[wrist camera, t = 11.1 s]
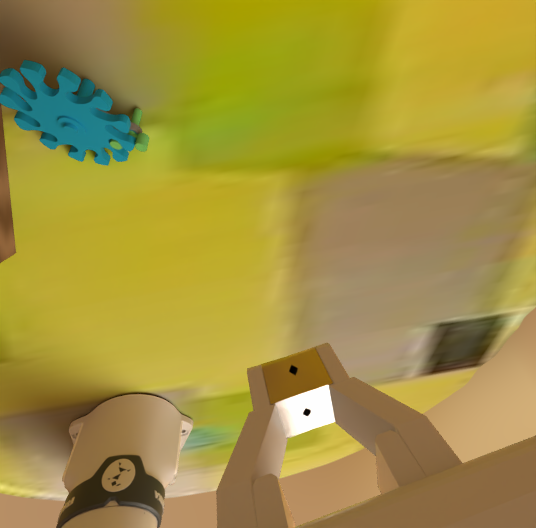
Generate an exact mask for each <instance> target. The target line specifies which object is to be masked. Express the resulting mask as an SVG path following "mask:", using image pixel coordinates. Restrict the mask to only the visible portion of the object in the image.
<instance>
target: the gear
mask: <svg viewBox="0 0 536 528" xmlns="http://www.w3.org/2000/svg"><path fill="white" fill-rule="evenodd" d="M20 71H21V73H22V74H23V75H24V77H26V78H27V79H28V80H29V82H30V83H31V84H32V85H33V87H34V89H35V91H36V92H34V91H32V90H30V89H29V88H28V87H27V86H26V85H25V83H24V79H23V77H22V76H21V74H20V73H19V72H17V71H16V70H15V69H13V68H8V69H5V70H3V71H2V72H1V74H0V82H1V83H2V84H3V85H4V86H6V87H4V89H3V90H2V92H1V94H0V103H1V104H2V105H4V106H6V107H8V108H12V109H15V110H18V111H17V113H16V115H15V117H14V120H15V122H16V123H17V125H18V126H19V127H20V128H21V129H24V130H39V131H43V133H42V136H41V138H40V141H41V142H42V143H43V144H44V145H45V146H47V147H48V148H50V149H56V147H57V146H58V145H62V144H69V145H73V146H72V147H71V148H70V151H69V153H68V155H69V156H70V157H72V158H74V159H76V160H78V161H83V160H84V157H85V154H86V152H85V151H86V150H88V149H89V150H93V151H95V152H96V155H95V158H94V161H95V162H96V163H98V164H101V165H108V164H109V161H110V156H109V155H108V154H107V153H106V152H105V150H104V148H108V149H110V150H111V151H112V152H113V158H114V159H115V160H116V161H118V162H122V161H126V160H127V158H128V155H129V153H128V151H132V150H133V148H134V146H135V147H136V149H137V150H139V151H143V152H144V151H146V150H147V146H148V142H149V137H148V136H147V135H146V134H144V133H142V129H141V128H140V127H139V123H140V119H141V116H142V111H141V110H140V109H138V108H136V109H134V113H133V116H132V120H131V122H130V119H129V117H128V116H127V115H124V114H118V115H113V114H110V113H108V112H105V111H109V110H110V109H111V107H112V104H113V101H112V99H111V98H110V97H109V95H108V94H107V93H106V92H105V91H104V90H102V89H98V90H96V91H95V93H94V94H93V91H94V89H95V85H94V83H93V82H92V81H91V80H89V79H83V81H82V83H81V79H80V78H79V77H78V76H77V75H76V74H74V73H73V72H71V71H69V70H68V69H66V68H64V67H63V68H61V70H60V72H59V74H58V76H57V81H58V83H59V88H58V89H52V88H50V87H48V86H47V85H46V84H45V83H44V82H43V80H44V77H45V75H46V70H45V68H44V67H43V66H42V65H41V64H39V63H36V62H33V61H28V60H24V61H23V63H22V65H21V67H20ZM80 83H81V86H80V88H79V85H80ZM78 88H79V91H78V93H77V95H74V94H73V93H72V92H76V91H77V90H78ZM92 94H93V95H92ZM19 95H20V96H21V97H22V98H23V99H24V100H25V101H26V102H25V101H24V100H23V99H22V98H21V97H20V96H19ZM135 142H136V143H135Z"/></svg>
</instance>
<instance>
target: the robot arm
mask: <svg viewBox="0 0 536 528" xmlns="http://www.w3.org/2000/svg"><path fill="white" fill-rule="evenodd" d="M247 375H248V381H249V387H250V393H251V398H252V404H253V410H254V411H252V412H249V415H248V417H247V419H246V422H245V424H244V426H243V429H242V431H241V434H240V436H239V438H238V441H237V443H236V446H235V448H234V450H233V453H232V455H231V457H230V460H229V462H228V465H227V467H226V469H225V472H224V474H223V477H222V479H221V481H220V484H219V486H218V488H217V491H216V492H217V493H216V494H217V528H536V436H534V437H531V438H528V439H526V440H523V441H520V442H518V443H515V444H512V445H510V446H507V447H505V448H502V449H499V450H497V451H494V452H491V453H489V454H486V455H484V456H481V457H478V458H476V459H473V460H470V461H468V462H465V463H462V462H461V461H460V460H459V458H458V457H457V456H456V454H455V453H454V452H453V450H452V449H451V448H450V446H449V445H448V444H447V443H446V441H445V440H444V439H443V438H442V436H441V435H440V434H439V432H438V431H437V430H436V428H435V427H434V426H433V425H432V423H431V422H430V421H429V420H428V418H427V417H426V416H425V415H423V414H421V413H419V412H417V411H416V410H414V409H412V408H410V407H408V406H406V405H405V404H403V403H401V402H399V401H397V400H395V399H394V398H392V397H390V396H388V395H386V394H384V393H382V392H381V391H379V390H377V389H375V388H373V387H371V386H370V385H368V384H366V383H364V382H362V381H360V380H359V379H357V378H355V377H352V378H349V376H348V374H347V373H346V371H345V369H344V368H343V366H342V364H341V363H340V361H339V359H338V357H337V356H336V354H335V352H334V351H333V349H332V347H331V346H330V344H329V343H325V344H322V345H319V346H316V347H313V348H310V349H307V350H304V351H301V352H298V353H295V354H292V355H289V356H287V357H284V358H280V359H277V360H274V361H270V362H267V363H264V364H261V365H258V366H254V367H251V368H248V369H247ZM333 422H336V424H338V425H339V426H340V427H341V428H342V429H344V430H345V431H346V432H347V433H348V434H350V435H351V436H352V437H353V438H355V439H356V440H357V441H358V442H359V443H361V444H362V445H363V446H364V447H365V448H367V449H368V450H369V451H370V452H372V453H373V454H374V455H375V456H376V464H377V479H378V480H377V481H378V488H379V489H380V492H381V495H378V496H376V497H373V498H370V499H368V500H365V501H363V502H360V503H357V504H355V505H352V506H349V507H347V508H344V509H341V510H339V511H336V512H333V513H331V514H328V515H326V516H323V517H321V518H318V519H315V520H312V521H310V522H307V523H305V524H302V525H300V526H297V527H295V523H294V518H293V516H292V513H291V511H290V508H289V506H288V503H287V501H286V498H285V496H284V493H283V490H282V488H281V485H280V483H279V476H280V472H281V467H282V463H283V458H284V454H285V449H286V444H287V438H290V437H292V436H295V435H298V434H300V433H303V432H305V431H308V430H311V429H314V428H317V427H320V426H323V425H326V424H329V423H333ZM192 427H193V420H192V419H190V418H188V417H186V416H184V415H182V414H181V413H179V411H178V410H177V409H176V408H175V407H174V406H173V405H172V404H171V403H169V402H168V401H166V400H164V399H162V398H159V397H156V396H151V395H145V394H131V395H123V396H119V397H115V398H112V399H110V400H107V401H105V402H104V403H102V404H100V405H99V406H97V407H96V408H95V409H94V410H93V411H92V412H91V413H89V414H88V415H86V416H84V417H81V418H79V419H77V420H75V421H73V422H72V423H71V424H70V427H69V434H70V436H71V439H72V441H73V444H74V446H73V449H72V452H71V454H70V457H69V460H68V463H67V465H66V468H65V471H64V474H63V478H62V481H63V482H64V485H65V488H66V489H67V490H68V492H69V495H68V496H67V499H66V501H65V504H64V506H63V508H62V510H61V512H60V515H59V518H58V524H57V527H56V528H159V527H160V524H161V520H162V515H163V511H164V497H165V488H166V487H167V486H168V485H173V484H174V482H175V479H176V476H177V473H178V462H179V453H180V451H181V449H182V447H183V445H184V443H185V441H186V439H187V438H188V436H189V434H190V432H191V430H192Z"/></svg>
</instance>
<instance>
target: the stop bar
mask: <svg viewBox="0 0 536 528" xmlns="http://www.w3.org/2000/svg"><path fill="white" fill-rule="evenodd" d="M15 253H16V250H15V240H14V230H13V220H12V210H11V200H10V190H9V180H8V170H7V160H6V150H5V140H4V130H3V120H2V110H1V103H0V263H1V262H3V261H4V260H6V259H7V258H9V257H10V256H12V255H14V254H15Z"/></svg>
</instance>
